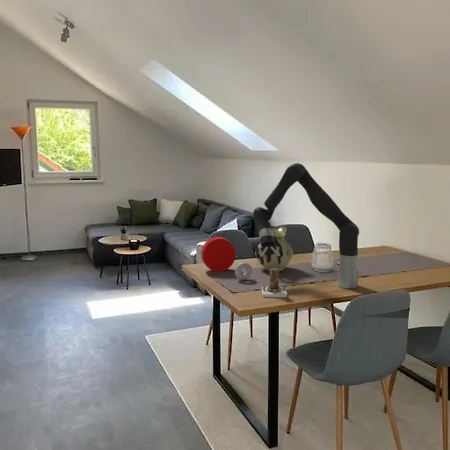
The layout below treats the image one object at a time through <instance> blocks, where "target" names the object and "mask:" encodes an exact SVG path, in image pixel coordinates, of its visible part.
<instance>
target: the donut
mask: <svg viewBox="0 0 450 450" xmlns="http://www.w3.org/2000/svg"><path fill="white" fill-rule="evenodd" d="M244 269H245V272H244V273H242V270H244ZM252 271H253V268H252V266H251V265H250V264H249V263H248V262H240V263H238V264H237V265H236V267H235V271H234V273H235V274H234V275H235V277H236V278H237V279H239V280H240V281H245V280H247V279H249V278H250V277H251V275H252V274H253V273H252Z"/></svg>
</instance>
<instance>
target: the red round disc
mask: <svg viewBox="0 0 450 450" xmlns="http://www.w3.org/2000/svg"><path fill="white" fill-rule="evenodd" d="M236 253H237V252H236V249H235V247H234V245H233V244H232V242H231V241H230V240H228V239H227V238H225V237H222V236H214V237H213V236H212V237H211V238H209V239H208V240H206V241H205V242H204V244H203V245H202V247H201V251H200V256H201V260H202V262H203V263H204V265H205V266H206V268H207V269H209V270H211V271H213V272H217V273H218V272H223V271H226V270H228V269H230V268H231V267H232V266H233V264H234V262H235V260H236V256H237V254H236Z"/></svg>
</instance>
